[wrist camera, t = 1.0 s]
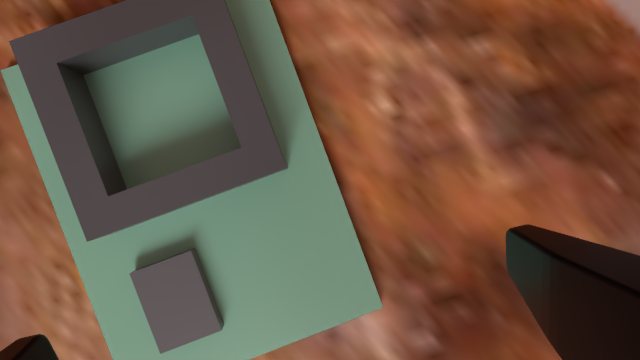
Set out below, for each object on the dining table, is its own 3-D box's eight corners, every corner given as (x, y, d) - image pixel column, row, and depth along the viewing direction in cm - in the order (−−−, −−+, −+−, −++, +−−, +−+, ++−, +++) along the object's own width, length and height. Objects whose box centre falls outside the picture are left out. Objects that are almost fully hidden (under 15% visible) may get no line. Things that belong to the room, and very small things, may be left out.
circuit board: (380, 304, 23) (393, 323, 20) (135, 399, 23) (109, 433, 20) (262, -17, 23) (256, -46, 20) (8, 73, 22) (-38, 57, 19)
